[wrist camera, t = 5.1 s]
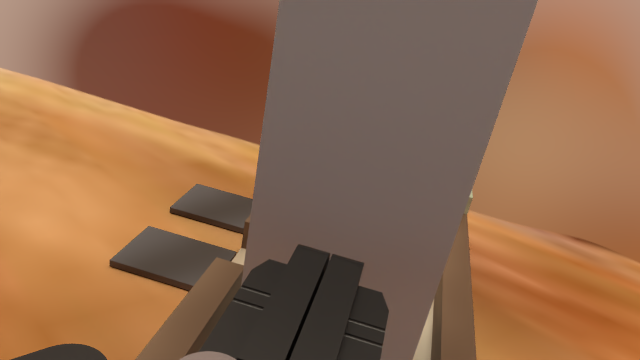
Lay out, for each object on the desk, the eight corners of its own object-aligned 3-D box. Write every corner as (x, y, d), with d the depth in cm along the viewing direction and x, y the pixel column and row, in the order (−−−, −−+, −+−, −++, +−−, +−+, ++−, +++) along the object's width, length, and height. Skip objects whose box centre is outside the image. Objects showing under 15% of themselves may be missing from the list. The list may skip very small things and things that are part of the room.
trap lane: (-8, 370, 16) (-19, 294, 14) (218, 168, 31) (223, 122, 29) (461, 537, 14) (497, 466, 12) (455, 233, 29) (471, 187, 27)
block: (226, 392, 16) (288, -65, 10) (283, 282, 21) (344, -56, 15) (383, 445, 15) (542, -14, 9) (400, 317, 20) (509, -23, 15)
